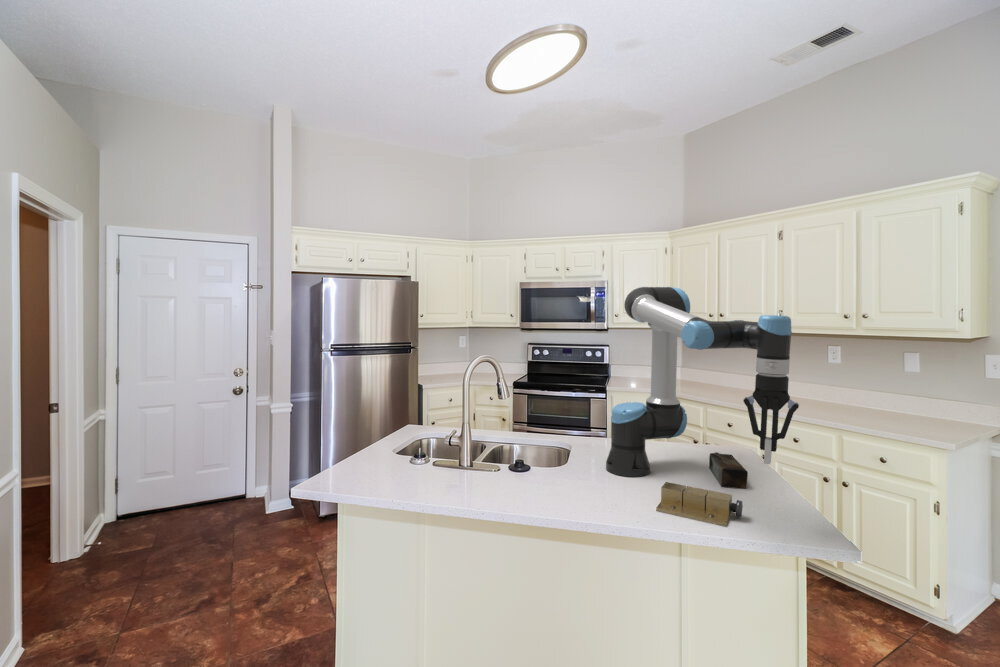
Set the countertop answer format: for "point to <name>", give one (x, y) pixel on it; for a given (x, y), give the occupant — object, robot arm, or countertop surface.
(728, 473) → the dark brown rectangular block
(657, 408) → the robot arm
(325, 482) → the countertop surface
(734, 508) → the hinge pin
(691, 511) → the hinge
